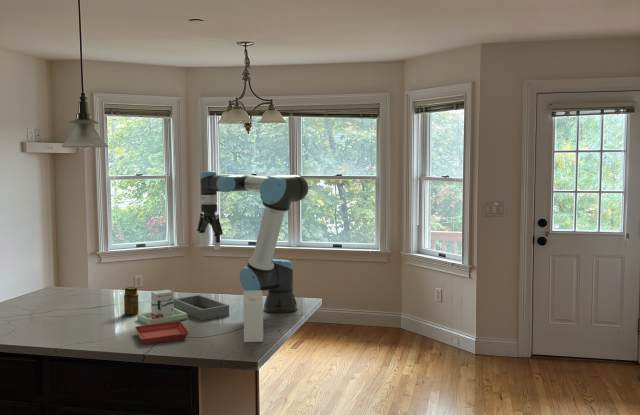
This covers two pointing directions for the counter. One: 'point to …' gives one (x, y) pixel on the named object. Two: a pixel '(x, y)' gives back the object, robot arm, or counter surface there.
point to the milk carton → (253, 316)
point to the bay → (188, 307)
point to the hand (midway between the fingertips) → (210, 247)
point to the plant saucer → (162, 332)
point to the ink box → (162, 303)
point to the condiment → (130, 302)
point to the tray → (148, 320)
